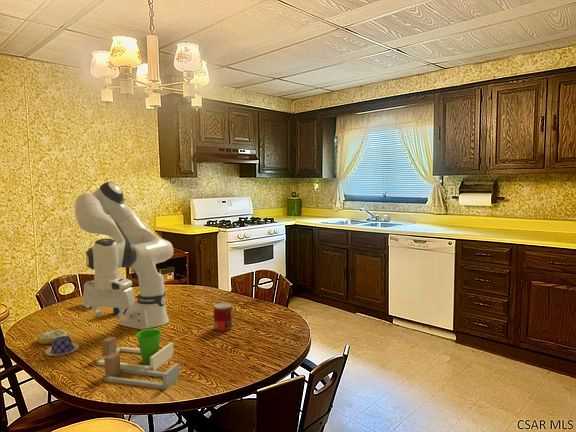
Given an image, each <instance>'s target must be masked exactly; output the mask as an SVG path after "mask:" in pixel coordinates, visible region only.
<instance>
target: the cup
mask: <svg viewBox="0 0 576 432" xmlns="http://www.w3.org/2000/svg"><path fill="white" fill-rule="evenodd" d="M162 332H163V331H162V330H161V329H159V328H147V329H141V330H140V331H138V332H137V333H136V335H135V337H136V338H137V342H138V347H139V349H140V352H141V353H140V356H141V360H142V363H143V365H146V366H150V357H151V356H152V355H154V354H155V353H157V352H158V351H159V350H160V343H161V335H162Z"/></svg>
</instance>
